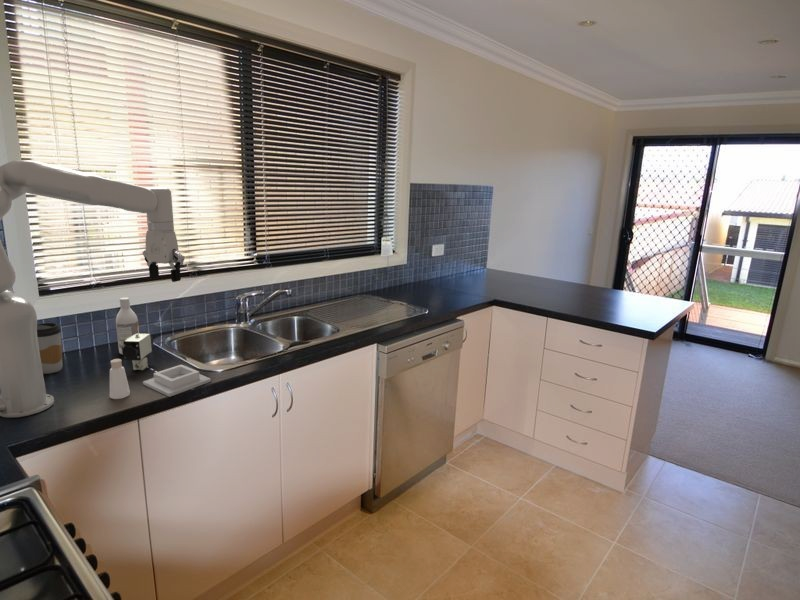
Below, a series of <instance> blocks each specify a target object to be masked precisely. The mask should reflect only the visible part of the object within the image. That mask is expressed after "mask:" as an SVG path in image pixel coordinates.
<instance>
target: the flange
mask: <svg viewBox="0 0 800 600" xmlns="http://www.w3.org/2000/svg"><path fill="white" fill-rule="evenodd" d="M211 380H212V379H211V378H210V377H209V376H208V377H207V376H205V375H203V374H201V373H200V371H199V370H196V369H194V368H192V367H189V366H186V365H185V364H184V365H183V364H178V365H175V366H172V367H169V368H165V369H164V370H160V371H156V372H154V373H153V377H152V378H149V379H145V380H143V381H142V385H144V386H146V387H147V388H149V389H152V390H153V391H156V392H158V393H160V394H163V396H167V397H169V398H171V397H172V396H176V395H179V394H180V393H185V392H186V391H189V390H191V389H194V388H196V387H200V386H202V385H206V384H208V383H210V382H211Z"/></svg>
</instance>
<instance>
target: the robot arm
mask: <svg viewBox="0 0 800 600" xmlns="http://www.w3.org/2000/svg"><path fill="white" fill-rule="evenodd" d="M25 194H30V195H36V196H41V197H46V198H52V199H57V200H62V201H67V202H73V203H77V204H82V205H90V206H100V207H110V208H115V209H116V208H117V209H121V210H124V211H126V212H134V213H140V214H146V220H147V223H146V224H147V230H146V233H145V250H144V251H142V255H143V258H144V261H145V262H146V266H148V274H149V278H150V279H155V278H159V277H160V272H159V265H158V264H166V265H167V264H168V265H169V266H170V267H171V269H170V276H171V277H170V279H171V282H172V283H175V282H180V281H181V279H182V278H181V277H182V276H181V269H182V266H183V265H184V261H185V256H184V255H183V254H182V253H181V252H180V251H179V245H178V244H179V243H178V238H177V234H176V232H175V227H174V225H175V223H174V211H173V210H174V209H173V199H172V191H171V190H170V188H167V187H162V186H151V187H145V186H140V185H137V184H132V183H127V182H123V181H119V180H114V179H110V178H107V177H102V176H100V175H99V176H98V175H95V174H92V173H86V172H83V171H79V170H73V169H70V168H65V167H62V166H57V165H53V164H48V163H45V162H41V161H36V160H35V161H34V160H28V159H16V160H11V161H9V162H6V163H4V164H3V165H0V221H1V220H2V219H3V218H4V216H6V215H7V214H8V213H9V211H11V208H12V203H13V201H14V200H16V199H18V198H20V197H21V196H23V195H25ZM15 282H16V272H15V269H14V267H13V265H12V263H11V261H10V258H9V257H8V255H7V252H6V250H5V248H4V245H3V243H2V239H1V238H0V417H3V418H10V419H12V418H22V417H28V416H32V415H35V414H38V413H41V412H43V411H45V410H47V409H49V408H50V407H52V405H53V404H54V403H55V398H54V396H53V395H51V394H48V393H47V390H46V383H45V379H44V374H43V371H42V364H41V358H40V352H39V346H38V338H37V324H38V317H37V311H36V309H35V307H34V305H33V304H32V303H31V302H30V301H28V300H27V299H26V298H25V297H22V296H20V295H17V294H16V293H15V291H14V289H13V286H14V284H15Z"/></svg>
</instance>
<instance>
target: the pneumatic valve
mask: <svg viewBox="0 0 800 600" xmlns="http://www.w3.org/2000/svg"><path fill="white" fill-rule="evenodd" d="M123 344H124V347H122V353H123V354H122V357H124V360H125V361H131V362H132V367H133V368H132V369H133V371H138V370H139V371H144V370H145V369H147V368H148V367H149V365H148V357H147V356H148V355H149V354H151V353H152V352H153V344H154V339H153V337H152V333H151V332H149V333H148V332H147V333H146V332H139V333H136V334H135V335H133V336H132V337H128V338H126V340H125V341H124V342H123Z"/></svg>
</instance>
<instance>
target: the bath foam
mask: <svg viewBox="0 0 800 600" xmlns="http://www.w3.org/2000/svg"><path fill="white" fill-rule="evenodd" d="M130 303H131V302H130V297H127V296H125V297H119V305H120V309H119V311H118V313H117V315H116V317H115V326H116V327H115V328H116V335H117V336H116V337H117V343H118V344H117V347H118V353H119V354H120V355H123V353H122V347H124V344H123V342H124V341H125V340H126V338H128V337H132V336H133V335H135V334H136V333H140V327H139V319H138V318H139V317H138V316H137V314H136V313H135V311H133V309H132V308H131V304H130Z"/></svg>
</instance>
